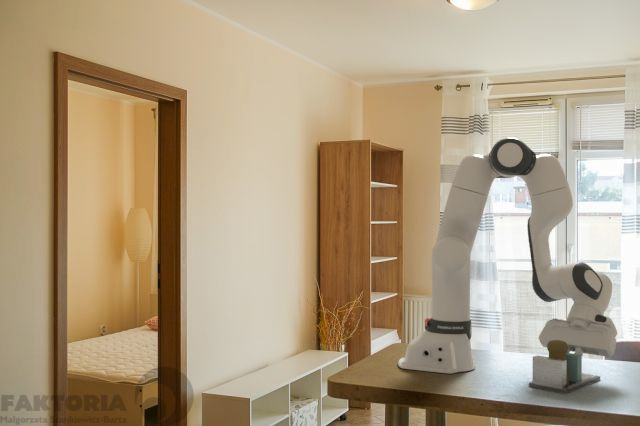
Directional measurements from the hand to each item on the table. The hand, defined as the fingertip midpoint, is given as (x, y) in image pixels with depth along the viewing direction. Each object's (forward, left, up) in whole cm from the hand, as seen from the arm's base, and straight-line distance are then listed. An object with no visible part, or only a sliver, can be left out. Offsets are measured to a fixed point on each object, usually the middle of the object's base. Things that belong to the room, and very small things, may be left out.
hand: (567, 362), depth 178 cm
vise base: (-1, -1, -5) cm, 6 cm away
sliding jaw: (-1, -2, -4) cm, 5 cm away
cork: (-3, -5, -4) cm, 8 cm away
